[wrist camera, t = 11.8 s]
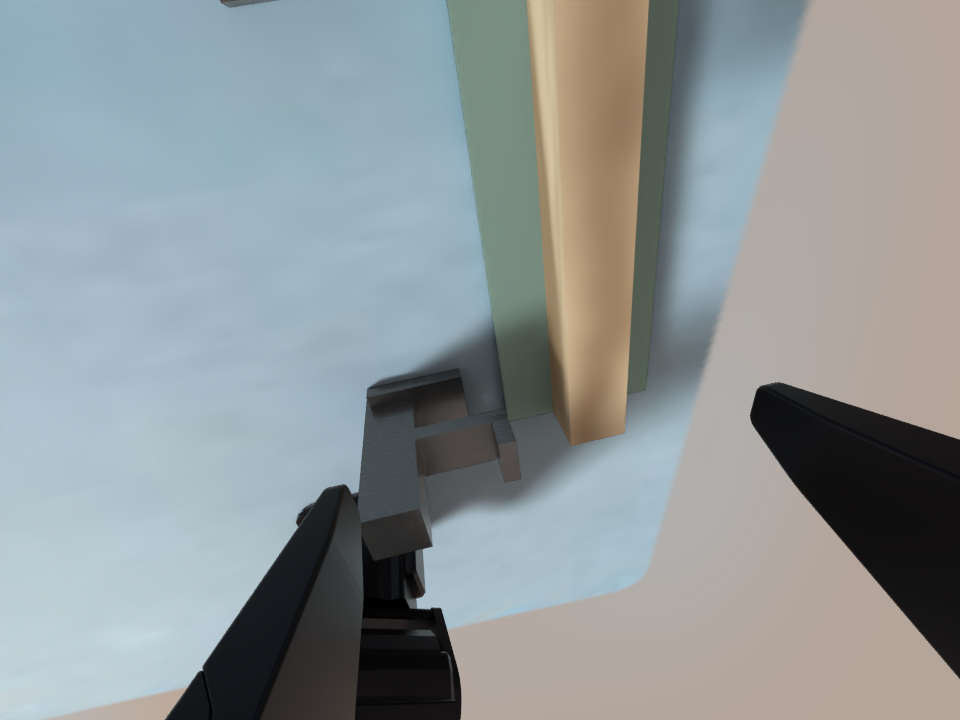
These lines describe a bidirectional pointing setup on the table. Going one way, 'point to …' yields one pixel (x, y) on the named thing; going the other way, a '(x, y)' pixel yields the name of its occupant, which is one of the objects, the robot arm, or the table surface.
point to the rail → (588, 198)
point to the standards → (418, 450)
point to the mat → (515, 192)
